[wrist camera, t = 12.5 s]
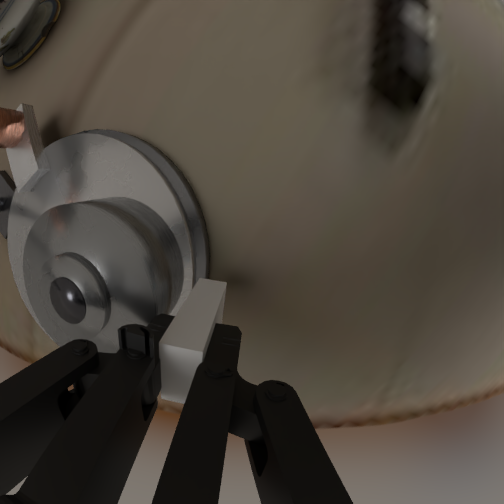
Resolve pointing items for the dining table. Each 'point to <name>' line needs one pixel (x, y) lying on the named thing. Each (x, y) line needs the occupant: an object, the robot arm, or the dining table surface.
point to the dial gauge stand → (5, 201)
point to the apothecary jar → (24, 28)
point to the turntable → (83, 186)
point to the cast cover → (101, 269)
